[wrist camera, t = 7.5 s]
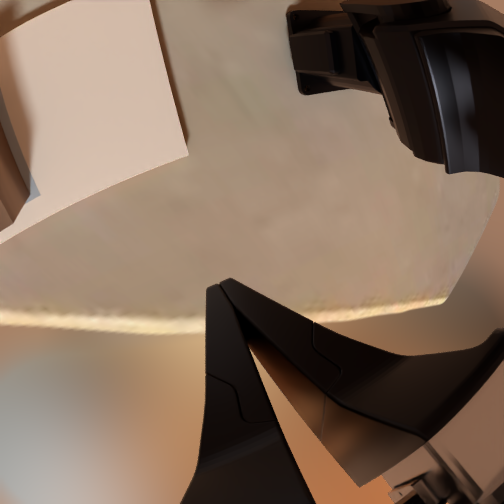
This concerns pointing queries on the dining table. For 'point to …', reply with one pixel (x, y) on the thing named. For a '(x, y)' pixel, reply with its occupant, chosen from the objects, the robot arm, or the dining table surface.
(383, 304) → the dining table surface
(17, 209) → the walnut T block
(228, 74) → the dining table surface
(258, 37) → the dining table surface
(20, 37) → the board
